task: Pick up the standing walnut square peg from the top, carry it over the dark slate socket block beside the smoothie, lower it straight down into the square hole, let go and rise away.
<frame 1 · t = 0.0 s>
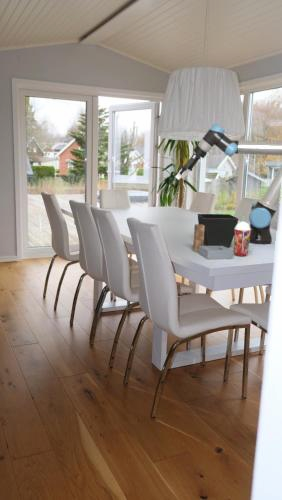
hand: (179, 178, 262), 36 cm above the table, tool tilted 35°, fingers open, 13 cm apart
socket block: (215, 256, 222), on the table
peg: (197, 251, 232), on the table
smoothie: (240, 255, 227), on the table
flower pot: (215, 246, 251), on the table
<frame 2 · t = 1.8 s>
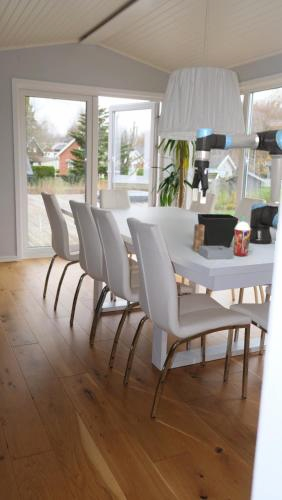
hand: (198, 202, 229), 25 cm above the table, tool pointing down, fingers open, 13 cm apart
nothing on the table moved.
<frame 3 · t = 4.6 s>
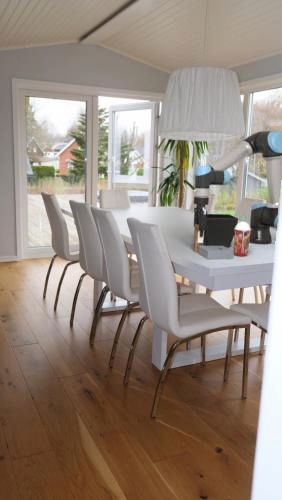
hand: (198, 241, 231), 5 cm above the table, tool pointing down, fingers closed on peg, 4 cm apart
peg: (197, 251, 232), on the table, touching gripper
everything else where it was.
when the fingers open (7 cm above the table, at t = 9.9 s): peg drops 1 cm, resting in socket block.
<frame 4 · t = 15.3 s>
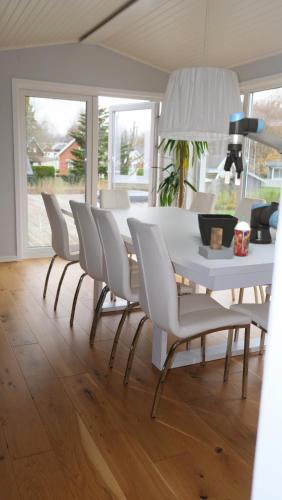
hand: (231, 184, 238), 35 cm above the table, tool pointing down, fingers open, 13 cm apart
peg: (215, 256, 222), resting in socket block
everything else where it was.
at the end: peg 0.0 cm off-centre on the socket block, point 0.0 cm above the socket block's base; peg tilted 0°; the gripper is holding nothing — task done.
